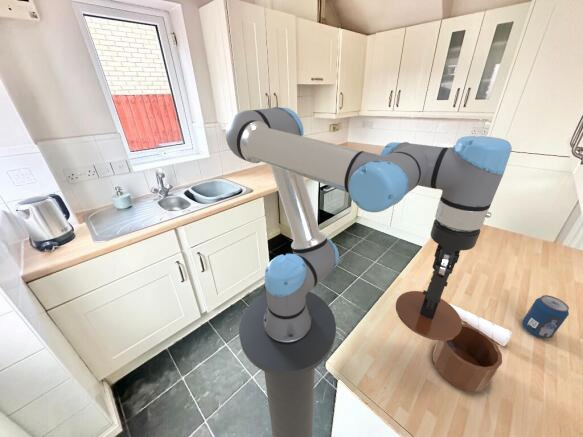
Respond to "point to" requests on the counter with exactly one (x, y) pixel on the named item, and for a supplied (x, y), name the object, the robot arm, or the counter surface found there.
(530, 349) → the counter surface
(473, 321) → the unicorn horn
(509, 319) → the counter surface
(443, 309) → the crock lid
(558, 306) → the soda can
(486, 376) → the crock
